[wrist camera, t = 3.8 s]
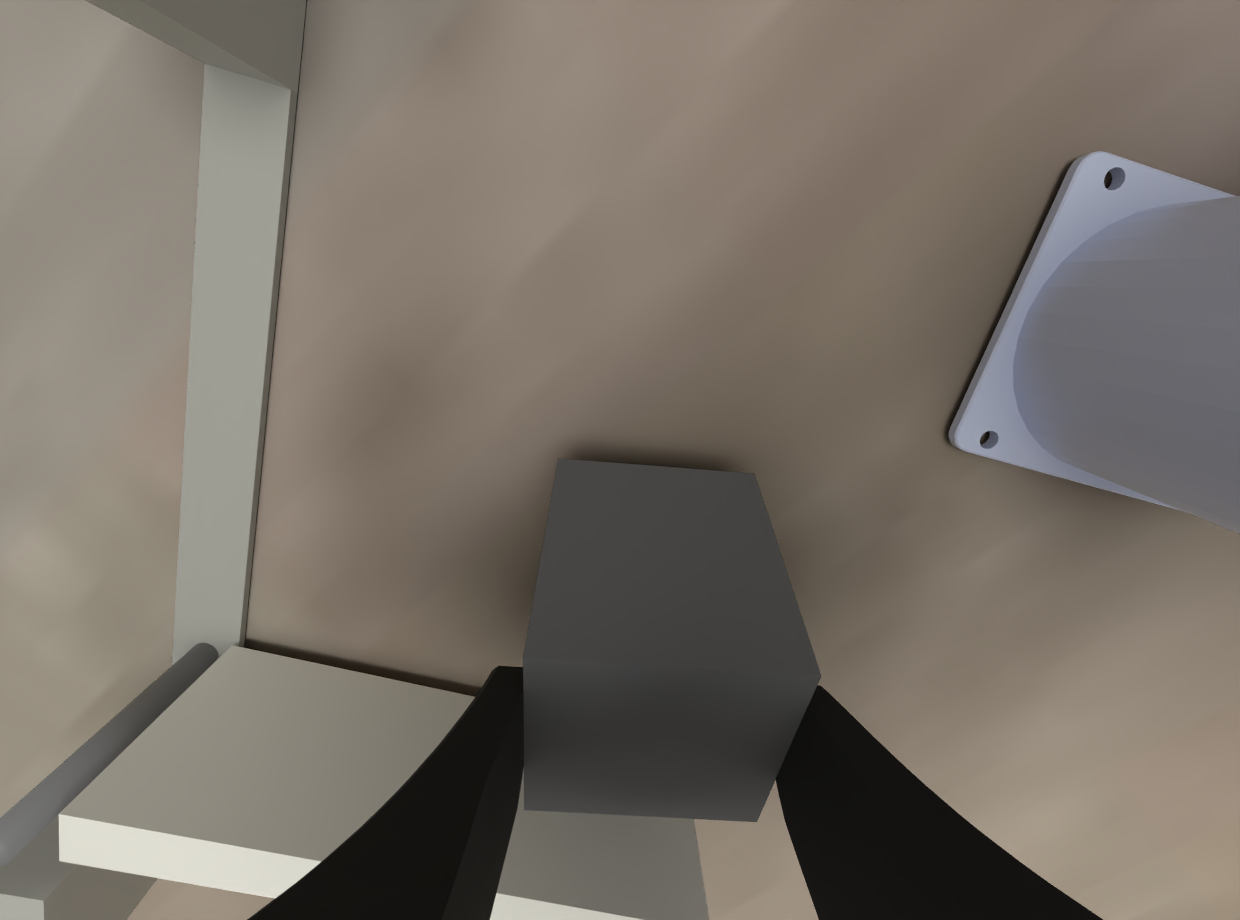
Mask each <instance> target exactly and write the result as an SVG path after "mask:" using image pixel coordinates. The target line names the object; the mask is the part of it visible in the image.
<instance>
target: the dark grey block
mask: <svg viewBox="0 0 1240 920" xmlns="http://www.w3.org/2000/svg"><path fill="white" fill-rule="evenodd" d="M820 678H821V674H820V671H819V668H818V665H817V662H816V659H815V656H814V653H813V650H812V647H811V644H810V641H809V637H808V634H807V631H806V628H805V625H804V622H803V619H802V616H801V613H800V610H799V607H798V604H797V601H796V598H795V595H794V592H793V589H792V586H791V583H790V580H789V577H788V574H787V571H786V568H785V565H784V562H783V559H782V556H781V553H780V550H779V547H778V544H777V541H776V538H775V535H774V532H773V529H772V525H771V522H770V519H769V516H768V513H767V510H766V507H765V504H764V501H763V498H762V495H761V492H760V489H759V486H758V483H757V480H756V477H755V474H753V473H740V472H728V471H715V470H702V469H689V468H676V467H663V466H650V465H637V464H624V463H611V462H598V461H585V460H572V459H559V458H558V462H557V467H556V473H555V479H554V484H553V490H552V496H551V501H550V507H549V513H548V519H547V524H546V530H545V536H544V541H543V547H542V553H541V558H540V564H539V570H538V576H537V581H536V587H535V593H534V598H533V604H532V610H531V616H530V621H529V627H528V633H527V638H526V644H525V650H524V655H523V689H524V810H531V811H551V812H571V813H590V814H610V815H629V816H649V817H669V818H688V819H708V820H728V821H747V822H757V820H758V818H759V816H760V813H761V811H762V809H763V807H764V804H765V802H766V800H767V798H768V795H769V793H770V791H771V789H772V786H773V784H774V782H775V780H776V777H777V774H778V772H779V770H780V768H781V765H782V763H783V761H784V759H785V756H786V754H787V752H788V750H789V747H790V745H791V743H792V740H793V738H794V736H795V734H796V731H797V729H798V727H799V725H800V722H801V720H802V718H803V716H804V713H805V711H806V709H807V707H808V705H809V703H810V700H811V698H812V696H813V694H814V691H815V689H816V687H817V685H818V682H819V680H820Z"/></svg>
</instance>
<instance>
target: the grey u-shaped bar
mask: <svg viewBox="0 0 1240 920" xmlns="http://www.w3.org/2000/svg"><path fill="white" fill-rule="evenodd" d="M86 1H88V2H90V3H91V4H93V5H95V6H97V7H99V8H101V9H103V10H105V11H107V12H108V13H110V14H112V15H114V16H116V17H118V18H120V19H122V20H124V21H126V22H127V23H129V24H131V25H133V26H135V27H137V28H139V29H141V30H143V31H144V32H146V33H148V34H150V35H152V36H154V37H156V38H158V39H160V40H161V41H163V42H165V43H167V44H169V45H171V46H173V47H175V48H177V49H178V50H180V51H182V52H184V53H186V54H188V55H190V56H192V57H194V58H196V59H197V60H199V61H201V62H203V63H205V68H204V86H203V104H202V123H201V141H200V160H199V178H198V196H197V215H196V233H195V251H194V270H193V288H192V307H191V325H190V343H189V362H188V380H187V399H186V417H185V435H184V454H183V472H182V491H181V509H180V527H179V546H178V564H177V583H176V601H175V619H174V638H173V656H172V666H171V667H170V668H169V669H168V670H167V671H166V672H165V673H163V674H162V675H161V676H160V677H159V678H158V679H157V680H156V681H154V682H153V683H152V684H151V685H150V686H149V687H148V688H147V689H145V690H144V691H143V692H142V693H141V694H140V695H139V696H138V697H136V698H135V699H134V700H133V701H132V702H131V703H130V704H129V705H127V706H126V707H125V708H124V709H123V710H122V711H121V712H119V713H118V714H117V715H116V716H115V717H114V718H113V719H112V720H110V721H109V722H108V723H107V724H106V725H105V726H104V727H103V728H101V729H100V730H99V731H98V732H97V733H96V734H95V735H94V736H92V737H91V738H90V739H89V740H88V741H87V742H86V743H85V744H83V745H82V746H81V747H80V748H79V749H78V750H77V751H75V752H74V753H73V754H72V755H71V756H70V757H69V758H68V759H66V760H65V761H64V762H63V763H62V764H61V765H60V766H59V767H57V768H56V769H55V770H54V771H53V772H52V773H51V774H50V775H48V776H47V777H46V778H45V779H44V780H43V781H42V782H41V783H39V784H38V785H37V786H36V787H35V788H34V789H33V790H31V791H30V792H29V793H28V794H27V795H26V796H25V797H24V798H22V799H21V800H20V801H19V802H18V803H17V804H16V805H15V806H13V807H12V808H11V809H10V810H9V811H8V812H7V813H6V814H4V815H3V816H2V817H1V818H0V920H127V918H128V917H129V916H130V914H131V913H132V912H133V910H134V909H135V908H136V906H137V905H138V904H139V902H140V901H141V900H142V898H143V897H144V896H145V894H146V893H147V892H148V890H149V889H150V888H151V886H152V885H153V884H154V882H155V881H156V880H157V878H154V877H148V876H143V875H137V874H131V873H125V872H120V871H114V870H108V869H102V868H96V867H91V866H85V865H79V864H73V863H68V862H62V861H59V813H60V812H61V811H62V810H63V809H64V808H65V807H66V806H67V805H68V804H69V803H71V802H72V801H73V800H74V799H75V798H76V797H77V796H78V795H79V794H80V793H81V792H82V791H83V790H84V789H85V788H86V787H87V786H88V785H89V784H90V783H91V782H92V781H93V780H94V779H95V778H96V777H97V776H98V775H99V774H100V773H101V772H102V771H103V770H104V769H105V768H106V767H108V766H109V765H110V764H111V763H112V762H113V761H114V760H115V759H116V758H117V757H118V756H119V755H120V754H121V753H122V752H123V751H124V750H125V749H126V748H127V747H128V746H129V745H130V744H131V743H132V742H133V741H134V740H135V739H136V738H137V737H138V736H139V735H140V734H141V733H142V732H144V731H145V730H146V729H147V728H148V727H149V726H150V725H151V724H152V723H153V722H154V721H155V720H156V719H157V718H158V717H159V716H160V715H161V714H162V713H163V712H164V711H165V710H166V709H167V708H168V707H169V706H170V705H171V704H172V703H173V702H174V701H175V700H176V699H177V698H178V697H179V696H181V695H182V694H183V693H184V692H185V691H186V690H187V689H188V688H189V687H190V686H191V685H192V684H193V683H194V682H195V681H196V680H197V679H198V678H199V677H200V676H201V675H202V674H203V673H204V672H205V671H206V670H207V669H208V668H209V667H210V666H211V665H212V664H213V663H214V662H215V661H216V660H218V659H219V658H220V657H221V656H222V655H223V654H224V653H225V652H226V651H227V650H228V649H229V648H230V647H231V646H232V645H233V646H238V647H243V648H244V642H245V631H246V621H247V611H248V600H249V590H250V580H251V569H252V559H253V549H254V538H255V528H256V518H257V507H258V497H259V487H260V476H261V466H262V456H263V445H264V435H265V424H266V414H267V404H268V393H269V383H270V373H271V362H272V352H273V342H274V331H275V321H276V311H277V300H278V290H279V280H280V269H281V259H282V249H283V238H284V228H285V218H286V207H287V197H288V186H289V176H290V166H291V155H292V145H293V135H294V124H295V114H296V104H297V93H298V83H299V73H300V62H301V52H302V42H303V31H304V21H305V11H306V0H86Z"/></svg>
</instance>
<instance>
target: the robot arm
mask: <svg viewBox="0 0 1240 920" xmlns="http://www.w3.org/2000/svg"><path fill="white" fill-rule="evenodd" d="M1108 171H1109V172H1110V173H1111V175H1112V182H1111V185H1110V186H1109V188H1108V189H1107V188H1106V187H1105V185H1104V178H1105V175H1106V174H1107V172H1108ZM987 431H989V433H990V436H989V439H988V440H987V442H986V443H984V444H982V445H980V438H981V436H982V435H983V434H984V433H985V432H987ZM949 440H950V442H951V443H952V445H953V446H955V447H957V448H959V449H961V450H963V451H965V452H969V453H973V454H976V455H980V456H984V457H987V458H991V459H994V460H998V461H1002V462H1005V463H1009V464H1013V465H1016V466H1020V467H1023V468H1027V469H1031V470H1034V471H1038V472H1042V473H1045V474H1049V475H1052V476H1056V477H1060V478H1063V479H1067V480H1071V481H1074V482H1078V483H1082V484H1085V485H1089V486H1092V487H1096V488H1100V489H1103V490H1107V491H1111V492H1114V493H1118V494H1121V495H1125V496H1129V497H1132V498H1136V499H1140V500H1143V501H1147V502H1151V503H1154V504H1158V505H1161V506H1165V507H1169V508H1172V509H1176V510H1180V511H1183V512H1187V513H1189V514H1192V515H1194V516H1197V517H1199V518H1201V519H1204V520H1206V521H1209V522H1211V523H1214V524H1216V525H1219V526H1221V527H1224V528H1226V529H1228V530H1231V531H1233V532H1236V533H1238V534H1240V196H1235V195H1232V194H1229V193H1226V192H1223V191H1220V190H1217V189H1214V188H1211V187H1208V186H1205V185H1202V184H1199V183H1196V182H1193V181H1190V180H1187V179H1184V178H1181V177H1178V176H1176V175H1173V174H1170V173H1167V172H1164V171H1161V170H1158V169H1155V168H1152V167H1149V166H1146V165H1143V164H1140V163H1137V162H1134V161H1131V160H1128V159H1125V158H1122V157H1119V156H1116V155H1113V154H1110V153H1107V152H1102V151H1096V152H1093V153H1089V154H1086V155H1083V156H1080V157H1079V158H1078V159H1076V160H1075V161H1074V162H1073V163H1072V165H1071V166H1070V168H1069V169H1068V171H1067V174H1066V176H1065V178H1064V180H1063V182H1062V185H1061V187H1060V189H1059V191H1058V193H1057V195H1056V198H1055V200H1054V202H1053V204H1052V206H1051V209H1050V211H1049V213H1048V215H1047V217H1046V220H1045V222H1044V224H1043V226H1042V228H1041V230H1040V233H1039V235H1038V237H1037V239H1036V241H1035V244H1034V246H1033V248H1032V250H1031V252H1030V254H1029V257H1028V259H1027V261H1026V263H1025V265H1024V268H1023V270H1022V272H1021V274H1020V276H1019V279H1018V281H1017V283H1016V285H1015V287H1014V289H1013V292H1012V294H1011V296H1010V298H1009V300H1008V303H1007V305H1006V307H1005V309H1004V311H1003V314H1002V316H1001V318H1000V320H999V322H998V324H997V327H996V329H995V331H994V333H993V335H992V338H991V340H990V342H989V344H988V346H987V348H986V351H985V353H984V355H983V357H982V359H981V362H980V364H979V366H978V368H977V370H976V373H975V375H974V377H973V379H972V381H971V383H970V386H969V388H968V390H967V392H966V394H965V397H964V399H963V401H962V403H961V405H960V408H959V410H958V412H957V414H956V416H955V418H954V421H953V423H952V425H951V427H950V431H949ZM523 768H524V689H523V667H509V666H498V667H496V668H495V669H494V670H492V672H491V674H490V675H489V677H488V679H487V680H486V682H485V683H484V685H483V686H482V688H481V689H480V691H479V692H478V694H477V695H476V697H475V698H474V699H473V701H472V702H471V704H470V705H469V706H468V708H467V709H466V710H465V712H464V713H463V715H462V716H461V717H460V718H459V720H458V721H457V722H456V723H455V725H454V726H453V727H452V728H451V730H450V731H449V732H448V734H447V735H446V736H445V737H444V739H443V740H442V741H441V742H440V744H439V745H438V746H437V747H436V748H435V750H434V751H433V752H432V753H431V754H430V755H429V756H428V757H427V759H426V760H425V761H424V762H423V763H422V764H421V765H420V766H419V768H418V769H417V770H416V771H415V772H414V773H413V774H412V775H411V777H410V778H409V779H408V780H407V781H406V782H405V783H404V784H403V785H402V786H401V787H400V788H399V790H398V791H397V792H396V793H395V794H394V795H393V796H392V797H391V798H390V799H389V800H388V801H387V802H386V803H385V804H384V805H383V806H382V807H381V808H380V809H379V810H378V811H377V812H376V813H375V814H374V815H373V816H371V817H370V818H369V819H368V820H367V821H366V822H365V823H364V824H363V825H362V826H361V827H360V828H359V829H358V830H357V831H356V832H354V833H353V834H352V835H351V836H350V837H349V838H348V839H347V840H345V841H344V842H343V843H342V844H341V845H340V846H339V847H338V848H336V849H335V850H334V851H333V852H332V853H331V854H330V855H329V856H327V857H326V858H325V859H324V860H323V861H322V862H320V863H319V864H318V865H317V866H316V867H314V868H313V869H312V870H311V871H310V872H309V873H307V874H306V875H305V876H304V877H302V878H301V879H300V880H299V881H297V882H296V883H295V884H294V885H292V886H291V887H290V888H288V889H287V890H286V891H284V892H283V893H282V894H280V895H279V896H278V897H277V898H275V899H274V900H273V901H271V902H270V903H269V904H267V905H266V906H265V907H263V908H262V909H261V910H260V911H258V912H257V913H256V914H254V915H253V916H252V917H250V918H249V919H248V920H490V917H491V913H492V909H493V905H494V901H495V897H496V893H497V889H498V885H499V881H500V877H501V873H502V869H503V865H504V861H505V857H506V853H507V849H508V845H509V841H510V837H511V833H512V829H513V825H514V820H515V816H516V812H517V808H518V802H519V795H520V789H521V782H522V775H523ZM776 783H777V788H778V792H779V797H780V801H781V806H782V810H783V814H784V818H785V822H786V825H787V828H788V831H789V834H790V837H791V840H792V843H793V846H794V849H795V852H796V855H797V858H798V861H799V864H800V867H801V869H802V872H803V875H804V878H805V881H806V884H807V887H808V889H809V892H810V895H811V898H812V901H813V904H814V907H815V909H816V912H817V915H818V918H819V920H1103V919H1101V918H1100V917H1098V916H1097V915H1095V914H1094V913H1092V912H1091V911H1089V910H1088V909H1087V908H1085V907H1084V906H1082V905H1081V904H1079V903H1078V902H1076V901H1075V900H1073V899H1072V898H1070V897H1069V896H1067V895H1066V894H1064V893H1063V892H1062V891H1060V890H1059V889H1057V888H1056V887H1054V886H1053V885H1051V884H1050V883H1048V882H1047V881H1046V880H1044V879H1043V878H1041V877H1040V876H1039V875H1037V874H1036V873H1034V872H1033V871H1032V870H1030V869H1029V868H1027V867H1026V866H1025V865H1023V864H1022V863H1021V862H1019V861H1018V860H1017V859H1015V858H1014V857H1013V856H1012V855H1010V854H1009V853H1008V852H1006V851H1005V850H1004V849H1002V848H1001V847H1000V846H998V845H997V844H996V843H995V842H993V841H992V840H991V839H989V838H988V837H987V836H985V835H984V834H983V833H981V832H980V831H979V830H978V829H977V828H975V827H974V826H973V825H972V824H970V823H969V822H968V821H967V820H965V819H964V818H963V817H962V816H961V815H959V814H958V813H957V812H956V811H955V810H954V809H952V808H951V807H950V806H949V805H948V804H947V803H945V802H944V801H943V800H942V799H941V798H940V797H938V796H937V795H936V794H935V793H934V792H933V791H931V790H930V789H929V788H928V787H927V786H926V785H925V784H924V783H922V782H921V781H920V780H919V779H918V778H917V777H916V776H915V775H914V774H912V773H911V772H910V771H909V770H908V769H907V768H906V767H905V766H904V765H903V764H902V763H901V762H899V761H898V760H897V759H896V758H895V757H894V756H893V755H892V754H891V753H890V752H889V751H888V750H887V749H886V748H885V747H884V746H883V745H882V744H881V743H879V742H878V741H877V740H876V739H875V738H874V737H873V736H872V735H871V734H870V733H869V732H868V731H867V730H866V729H865V728H864V727H863V726H862V725H861V724H860V723H859V722H858V721H857V720H856V719H855V718H854V717H853V716H852V715H851V714H850V713H849V712H848V711H847V710H846V709H845V708H844V707H843V706H842V705H841V704H840V703H839V702H838V701H836V700H835V699H834V698H833V697H832V696H831V695H830V694H829V693H828V692H827V691H826V690H825V689H824V688H823V687H821V686H817V687H816V689H815V691H814V694H813V696H812V698H811V700H810V703H809V705H808V707H807V709H806V711H805V713H804V716H803V718H802V720H801V722H800V725H799V727H798V729H797V731H796V734H795V736H794V738H793V740H792V743H791V745H790V747H789V750H788V752H787V754H786V756H785V759H784V761H783V763H782V765H781V768H780V770H779V772H778V774H777V777H776Z"/></svg>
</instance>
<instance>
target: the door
mask: <svg viewBox="0 0 1240 920" xmlns="http://www.w3.org/2000/svg"><path fill="white" fill-rule="evenodd" d="M474 698H475V697H473V696H469V695H464V694H459V693H455V692H450V691H445V690H440V689H436V688H431V687H426V686H422V685H417V684H412V683H407V682H403V681H398V680H393V679H389V678H384V677H379V676H375V675H370V674H365V673H360V672H356V671H351V670H346V669H342V668H337V667H332V666H327V665H323V664H318V663H313V662H309V661H304V660H299V659H295V658H290V657H285V656H280V655H276V654H271V653H266V652H262V651H257V650H252V649H247V648H243V647H238V646H233V645H232V646H231V647H230V648H229V649H228V650H227V651H226V652H225V653H224V654H223V655H222V656H221V657H220V658H219V659H218V660H216V661H215V662H214V663H213V664H212V665H211V666H210V667H209V668H208V669H207V670H206V671H205V672H204V673H203V674H202V675H201V676H200V677H199V678H198V679H197V680H196V681H195V682H194V683H193V684H192V685H191V686H190V687H189V688H188V689H187V690H186V691H185V692H184V693H183V694H182V695H181V696H179V697H178V698H177V699H176V700H175V701H174V702H173V703H172V704H171V705H170V706H169V707H168V708H167V709H166V710H165V711H164V712H163V713H162V714H161V715H160V716H159V717H158V718H157V719H156V720H155V721H154V722H153V723H152V724H151V725H150V726H149V727H148V728H147V729H146V730H145V731H144V732H142V733H141V734H140V735H139V736H138V737H137V738H136V739H135V740H134V741H133V742H132V743H131V744H130V745H129V746H128V747H127V748H126V749H125V750H124V751H123V752H122V753H121V754H120V755H119V756H118V757H117V758H116V759H115V760H114V761H113V762H112V763H111V764H110V765H109V766H108V767H106V768H105V769H104V770H103V771H102V772H101V773H100V774H99V775H98V776H97V777H96V778H95V779H94V780H93V781H92V782H91V783H90V784H89V785H88V786H87V787H86V788H85V789H84V790H83V791H82V792H81V793H80V794H79V795H78V796H77V797H76V798H75V799H74V800H73V801H72V802H71V803H69V804H68V805H67V806H66V807H65V808H64V809H63V810H62V811H61V812H60V813H59V861H62V862H68V863H73V864H79V865H85V866H91V867H96V868H102V869H108V870H114V871H120V872H125V873H131V874H137V875H143V876H148V877H154V878H160V879H166V880H171V881H177V882H183V883H189V884H195V885H200V886H206V887H212V888H218V889H223V890H229V891H235V892H241V893H246V894H252V895H258V896H264V897H269V898H277V897H278V896H279V895H280V894H282V893H283V892H284V891H286V890H287V889H288V888H290V887H291V886H292V885H294V884H295V883H296V882H297V881H299V880H300V879H301V878H302V877H304V876H305V875H306V874H307V873H309V872H310V871H311V870H312V869H313V868H314V867H316V866H317V865H318V864H319V863H320V862H322V861H323V860H324V859H325V858H326V857H327V856H329V855H330V854H331V853H332V852H333V851H334V850H335V849H336V848H338V847H339V846H340V845H341V844H342V843H343V842H344V841H345V840H347V839H348V838H349V837H350V836H351V835H352V834H353V833H354V832H356V831H357V830H358V829H359V828H360V827H361V826H362V825H363V824H364V823H365V822H366V821H367V820H368V819H369V818H370V817H371V816H373V815H374V814H375V813H376V812H377V811H378V810H379V809H380V808H381V807H382V806H383V805H384V804H385V803H386V802H387V801H388V800H389V799H390V798H391V797H392V796H393V795H394V794H395V793H396V792H397V791H398V790H399V788H400V787H401V786H402V785H403V784H404V783H405V782H406V781H407V780H408V779H409V778H410V777H411V775H412V774H413V773H414V772H415V771H416V770H417V769H418V768H419V766H420V765H421V764H422V763H423V762H424V761H425V760H426V759H427V757H428V756H429V755H430V754H431V753H432V752H433V751H434V750H435V748H436V747H437V746H438V745H439V744H440V742H441V741H442V740H443V739H444V737H445V736H446V735H447V734H448V732H449V731H450V730H451V728H452V727H453V726H454V725H455V723H456V722H457V721H458V720H459V718H460V717H461V716H462V715H463V713H464V712H465V710H466V709H467V708H468V706H469V705H470V704H471V702H472V701H473V699H474ZM490 920H709V915H708V908H707V902H706V895H705V889H704V883H703V876H702V870H701V863H700V857H699V850H698V844H697V837H696V831H695V824H694V819H688V818H669V817H649V816H629V815H610V814H590V813H571V812H551V811H531V810H524V768H523V775H522V782H521V789H520V795H519V802H518V808H517V812H516V816H515V820H514V825H513V829H512V833H511V837H510V841H509V845H508V849H507V853H506V857H505V861H504V865H503V869H502V873H501V877H500V881H499V885H498V889H497V893H496V897H495V901H494V905H493V909H492V913H491V917H490Z"/></svg>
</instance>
